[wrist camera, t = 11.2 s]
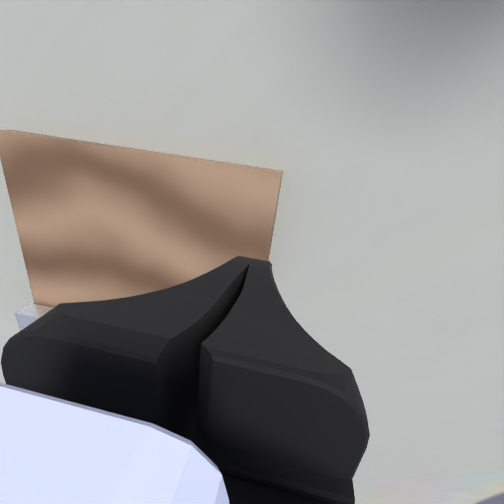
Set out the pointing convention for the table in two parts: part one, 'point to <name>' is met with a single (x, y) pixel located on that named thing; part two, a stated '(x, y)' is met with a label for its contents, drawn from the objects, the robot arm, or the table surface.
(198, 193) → the base plate
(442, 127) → the table surface
